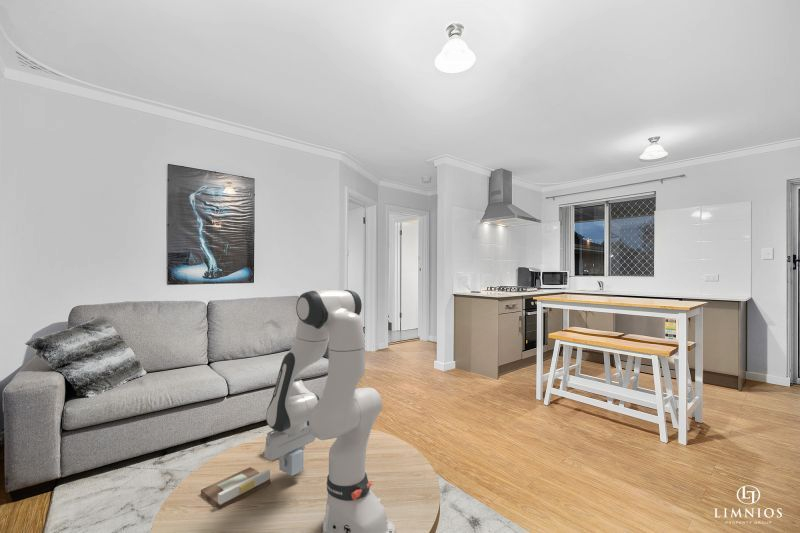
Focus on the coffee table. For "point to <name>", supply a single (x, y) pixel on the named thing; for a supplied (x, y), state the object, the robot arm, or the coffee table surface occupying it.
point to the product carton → (293, 462)
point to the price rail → (243, 486)
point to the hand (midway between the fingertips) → (291, 462)
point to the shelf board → (228, 482)
